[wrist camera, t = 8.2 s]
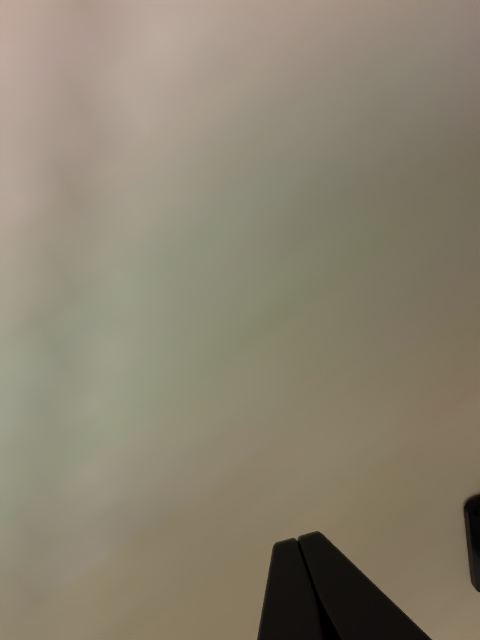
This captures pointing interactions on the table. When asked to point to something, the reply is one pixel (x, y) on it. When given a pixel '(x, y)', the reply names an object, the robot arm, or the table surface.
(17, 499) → the table surface
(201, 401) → the table surface
